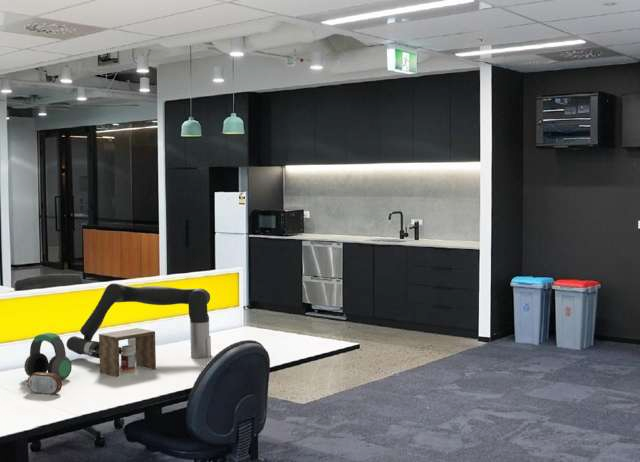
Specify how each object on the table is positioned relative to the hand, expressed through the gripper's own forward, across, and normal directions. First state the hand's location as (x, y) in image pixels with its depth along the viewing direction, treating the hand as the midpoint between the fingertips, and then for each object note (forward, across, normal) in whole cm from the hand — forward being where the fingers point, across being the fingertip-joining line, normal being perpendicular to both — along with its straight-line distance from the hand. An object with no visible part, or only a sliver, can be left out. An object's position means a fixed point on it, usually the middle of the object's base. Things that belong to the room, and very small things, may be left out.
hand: (114, 353), depth 371 cm
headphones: (-3, -32, +7) cm, 32 cm away
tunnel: (+11, 0, +6) cm, 13 cm away
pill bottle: (+11, 0, +7) cm, 13 cm away
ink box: (-14, +22, +7) cm, 27 cm away
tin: (+20, -46, +7) cm, 50 cm away
